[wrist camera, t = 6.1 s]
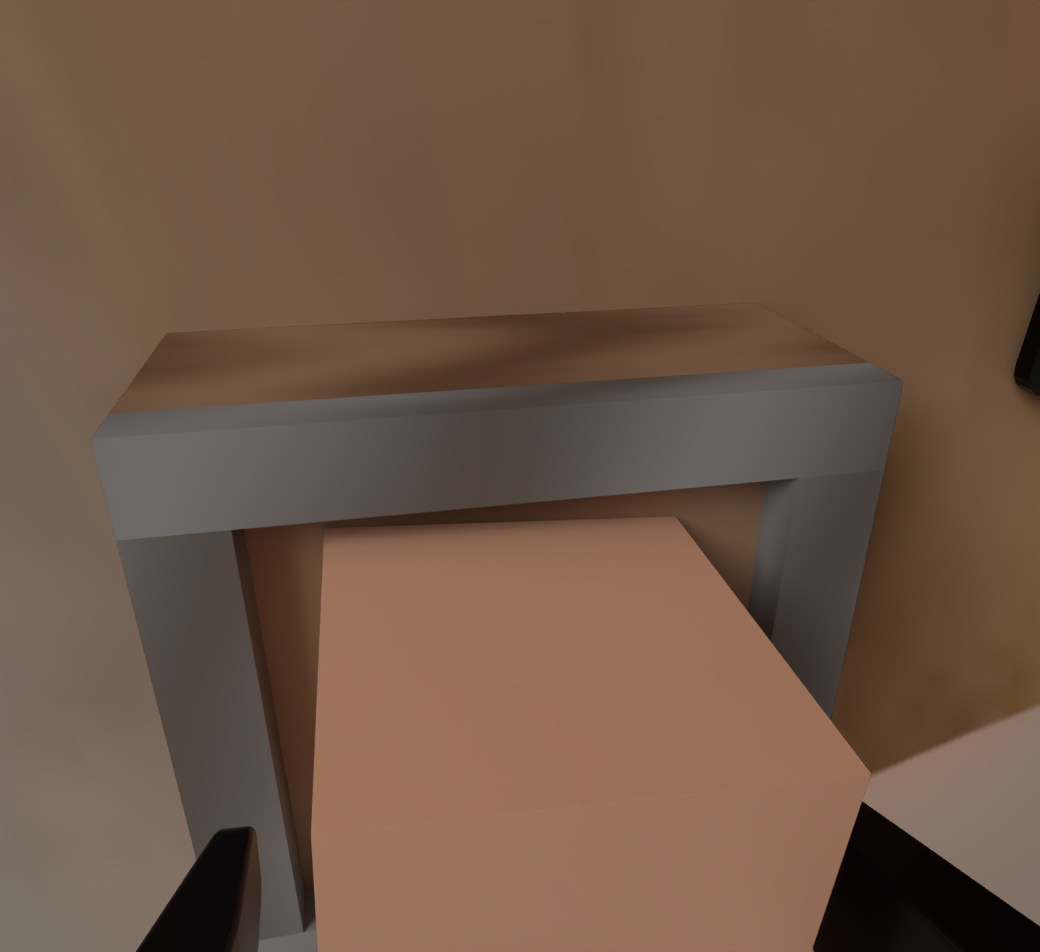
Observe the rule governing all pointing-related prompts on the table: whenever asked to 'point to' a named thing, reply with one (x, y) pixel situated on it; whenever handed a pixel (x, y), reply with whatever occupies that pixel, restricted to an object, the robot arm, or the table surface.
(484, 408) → the grey square frame
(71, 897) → the table surface
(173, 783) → the table surface
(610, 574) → the top brick
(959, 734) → the table surface
